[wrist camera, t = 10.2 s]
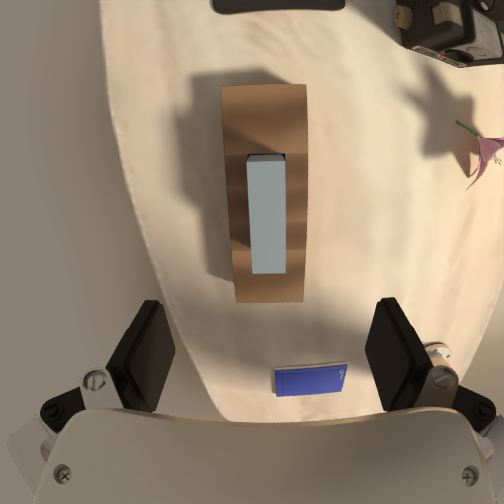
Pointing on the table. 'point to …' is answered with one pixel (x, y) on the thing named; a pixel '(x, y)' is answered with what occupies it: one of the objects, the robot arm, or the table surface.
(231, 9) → the smartphone
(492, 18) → the camera
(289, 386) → the hard drive
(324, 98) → the table surface
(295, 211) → the brown block with holes
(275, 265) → the light blue arch block
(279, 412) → the table surface
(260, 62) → the table surface
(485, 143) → the lily
